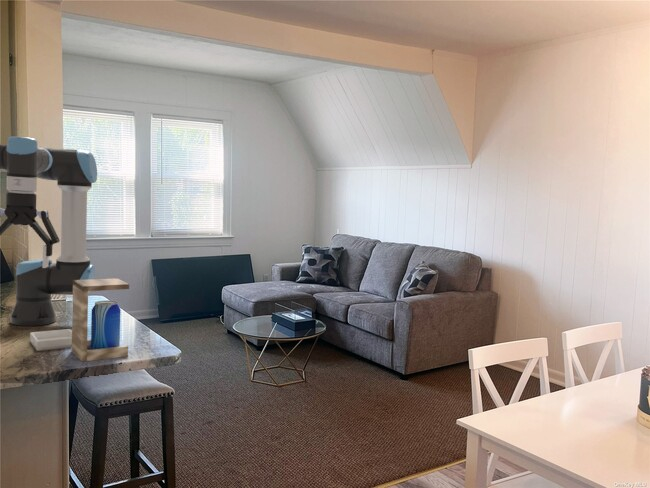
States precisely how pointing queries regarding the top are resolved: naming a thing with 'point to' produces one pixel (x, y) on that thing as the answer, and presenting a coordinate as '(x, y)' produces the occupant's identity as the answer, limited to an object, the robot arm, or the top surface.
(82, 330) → the dock
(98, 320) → the beer can
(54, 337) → the tray
